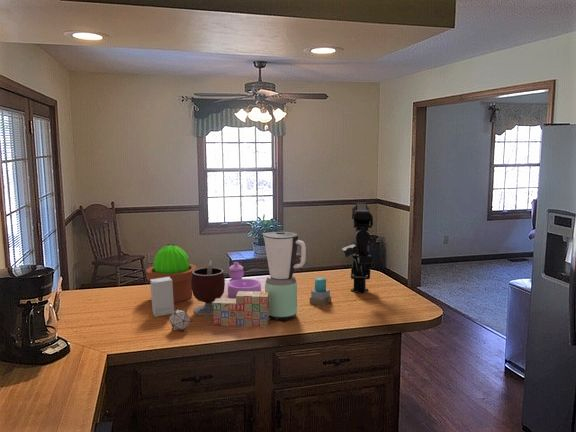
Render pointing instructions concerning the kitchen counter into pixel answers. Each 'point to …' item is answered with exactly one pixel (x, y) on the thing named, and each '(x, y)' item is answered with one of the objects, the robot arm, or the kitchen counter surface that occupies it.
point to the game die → (179, 319)
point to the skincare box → (162, 296)
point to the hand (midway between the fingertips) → (361, 274)
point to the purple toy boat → (240, 282)
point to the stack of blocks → (242, 309)
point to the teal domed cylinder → (320, 284)
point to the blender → (282, 273)
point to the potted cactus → (173, 270)
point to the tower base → (320, 301)
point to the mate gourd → (207, 287)
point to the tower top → (320, 294)
